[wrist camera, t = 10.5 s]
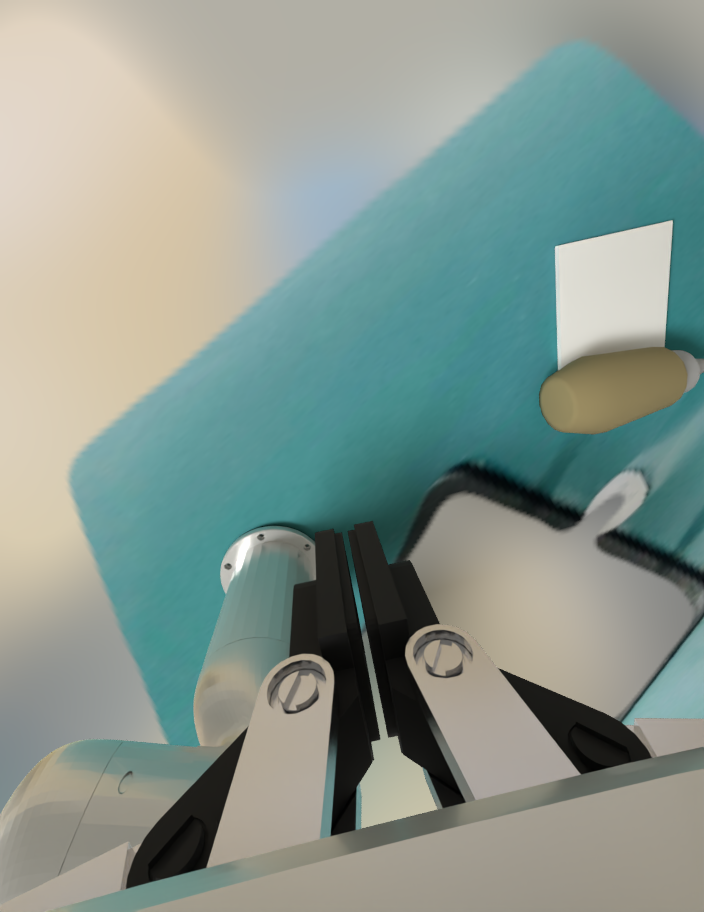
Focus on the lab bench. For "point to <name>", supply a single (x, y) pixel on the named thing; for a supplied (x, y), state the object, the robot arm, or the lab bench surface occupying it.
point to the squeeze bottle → (616, 388)
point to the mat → (612, 292)
